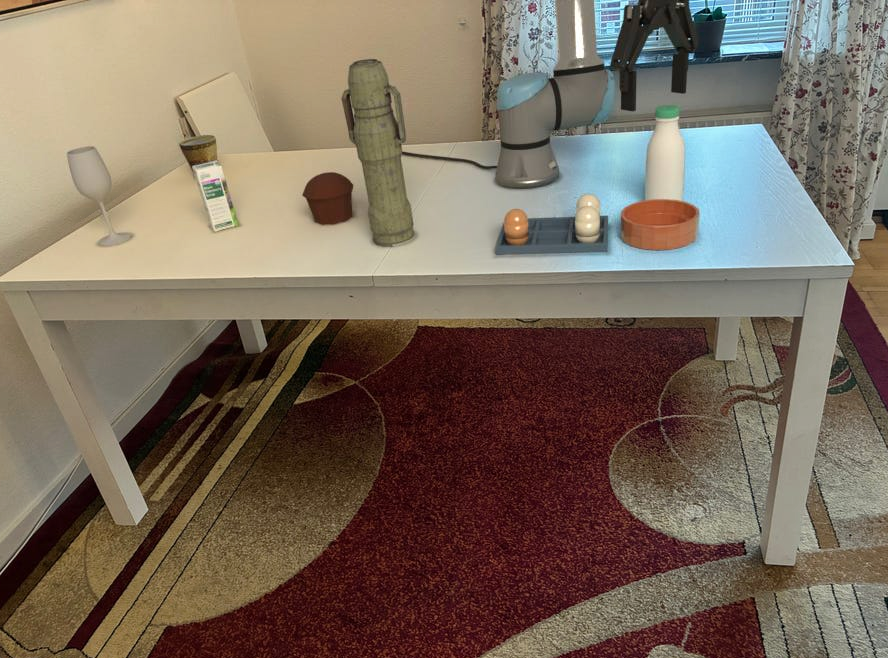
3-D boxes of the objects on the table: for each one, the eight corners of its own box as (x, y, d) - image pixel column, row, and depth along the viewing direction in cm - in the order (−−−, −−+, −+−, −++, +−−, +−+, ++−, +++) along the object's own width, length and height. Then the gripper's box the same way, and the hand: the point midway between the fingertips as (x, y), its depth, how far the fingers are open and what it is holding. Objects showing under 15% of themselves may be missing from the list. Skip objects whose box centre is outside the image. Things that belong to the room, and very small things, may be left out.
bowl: (606, 235, 144) (606, 210, 141) (665, 217, 148) (666, 193, 145) (651, 259, 132) (652, 233, 130) (713, 239, 137) (715, 213, 134)
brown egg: (501, 245, 144) (498, 209, 140) (522, 239, 145) (519, 203, 141) (513, 253, 140) (510, 216, 136) (534, 247, 141) (531, 210, 138)
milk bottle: (683, 211, 150) (689, 111, 139) (644, 212, 152) (647, 113, 141) (681, 198, 156) (687, 101, 146) (644, 199, 158) (647, 103, 147)
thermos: (374, 230, 159) (343, 59, 141) (426, 229, 156) (402, 54, 138) (360, 246, 152) (326, 68, 134) (414, 246, 149) (387, 64, 131)
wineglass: (110, 248, 167) (75, 156, 156) (91, 243, 171) (55, 154, 160) (138, 235, 172) (106, 146, 161) (118, 231, 176) (86, 144, 165)
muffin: (340, 205, 175) (332, 163, 170) (368, 213, 168) (361, 171, 163) (298, 221, 169) (289, 179, 163) (326, 231, 162) (317, 187, 156)
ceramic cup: (232, 170, 210) (222, 135, 205) (205, 182, 204) (194, 146, 198) (202, 167, 217) (192, 133, 212) (175, 178, 210) (164, 143, 205)
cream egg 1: (572, 230, 147) (571, 193, 143) (592, 224, 148) (591, 188, 144) (585, 237, 143) (584, 200, 139) (605, 231, 144) (605, 194, 140)
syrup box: (214, 232, 168) (195, 170, 161) (209, 225, 173) (191, 164, 165) (239, 226, 170) (221, 164, 163) (233, 219, 175) (216, 158, 167)
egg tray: (505, 228, 152) (504, 219, 151) (608, 224, 148) (608, 215, 147) (496, 256, 140) (495, 247, 139) (607, 253, 136) (607, 243, 135)
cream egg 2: (570, 243, 141) (569, 206, 137) (591, 237, 142) (590, 200, 139) (584, 251, 137) (583, 213, 133) (604, 245, 139) (604, 207, 135)
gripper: (624, -23, 110) (622, 120, 121) (725, -45, 122) (715, 87, 133) (587, -23, 115) (589, 115, 126) (687, -44, 127) (681, 83, 139)
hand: (654, 101), depth 130 cm, fingers open, 13 cm apart
